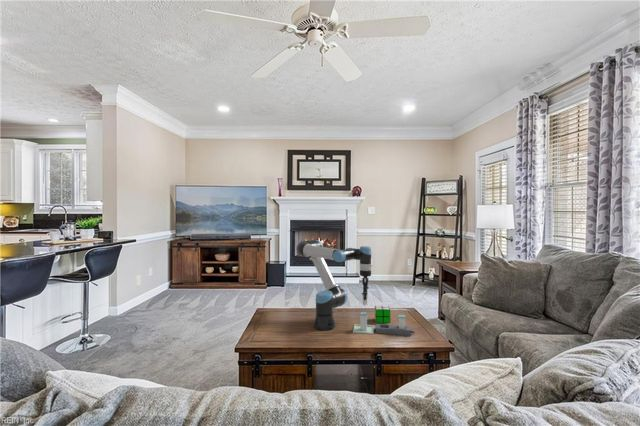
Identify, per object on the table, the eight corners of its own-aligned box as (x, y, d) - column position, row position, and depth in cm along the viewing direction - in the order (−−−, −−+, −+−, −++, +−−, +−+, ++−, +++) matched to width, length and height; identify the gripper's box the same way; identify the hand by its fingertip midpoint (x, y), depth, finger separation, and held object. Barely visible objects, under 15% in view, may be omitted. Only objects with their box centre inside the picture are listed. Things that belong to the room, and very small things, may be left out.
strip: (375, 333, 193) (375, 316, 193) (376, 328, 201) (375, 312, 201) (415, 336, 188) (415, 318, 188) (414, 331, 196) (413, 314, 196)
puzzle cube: (388, 319, 220) (388, 305, 221) (390, 323, 210) (390, 309, 211) (374, 318, 221) (374, 305, 222) (376, 323, 211) (375, 309, 212)
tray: (352, 333, 194) (352, 331, 194) (354, 326, 207) (354, 324, 207) (373, 334, 191) (373, 332, 191) (374, 327, 204) (374, 325, 204)
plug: (360, 330, 197) (360, 314, 197) (360, 328, 201) (360, 312, 201) (366, 330, 196) (366, 314, 197) (367, 328, 201) (366, 312, 201)
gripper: (371, 273, 187) (370, 307, 187) (371, 266, 212) (371, 296, 212) (358, 273, 189) (358, 306, 189) (360, 266, 213) (360, 296, 213)
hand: (365, 301), depth 200 cm, fingers open, 13 cm apart
